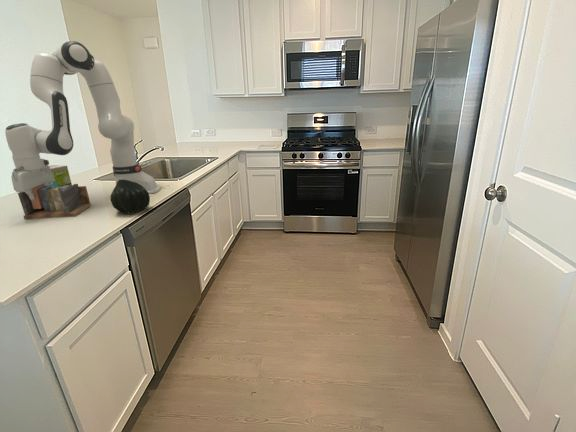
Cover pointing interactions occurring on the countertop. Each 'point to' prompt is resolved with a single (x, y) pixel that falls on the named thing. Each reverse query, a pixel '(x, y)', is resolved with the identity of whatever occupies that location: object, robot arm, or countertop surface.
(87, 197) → the rack
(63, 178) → the tea box
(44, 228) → the countertop surface
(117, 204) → the squash
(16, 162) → the robot arm
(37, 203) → the terracotta rectangular block
